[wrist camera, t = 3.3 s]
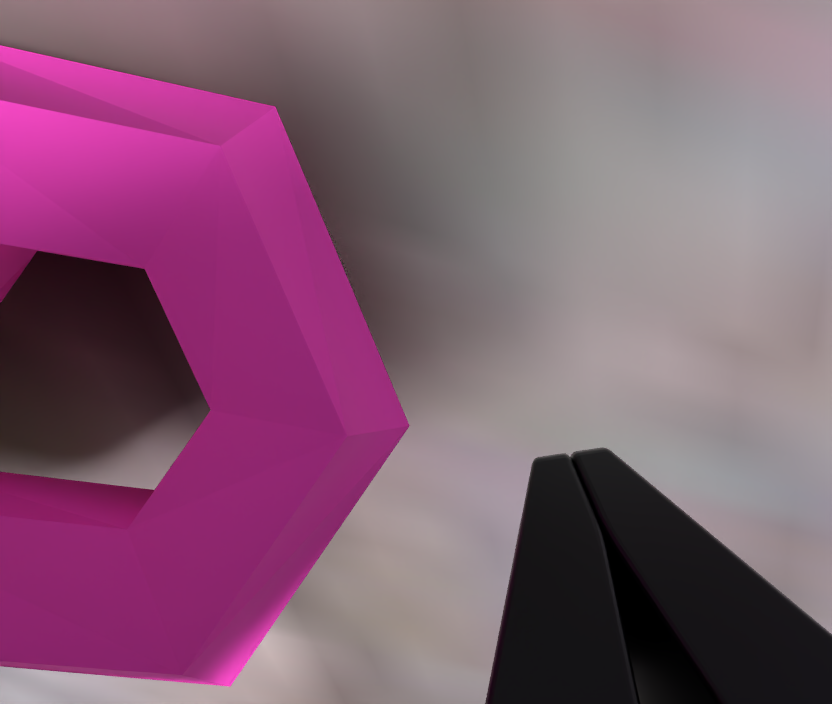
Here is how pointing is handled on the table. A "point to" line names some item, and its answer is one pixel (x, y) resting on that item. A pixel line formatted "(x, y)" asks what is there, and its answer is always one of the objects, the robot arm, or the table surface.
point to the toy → (212, 367)
